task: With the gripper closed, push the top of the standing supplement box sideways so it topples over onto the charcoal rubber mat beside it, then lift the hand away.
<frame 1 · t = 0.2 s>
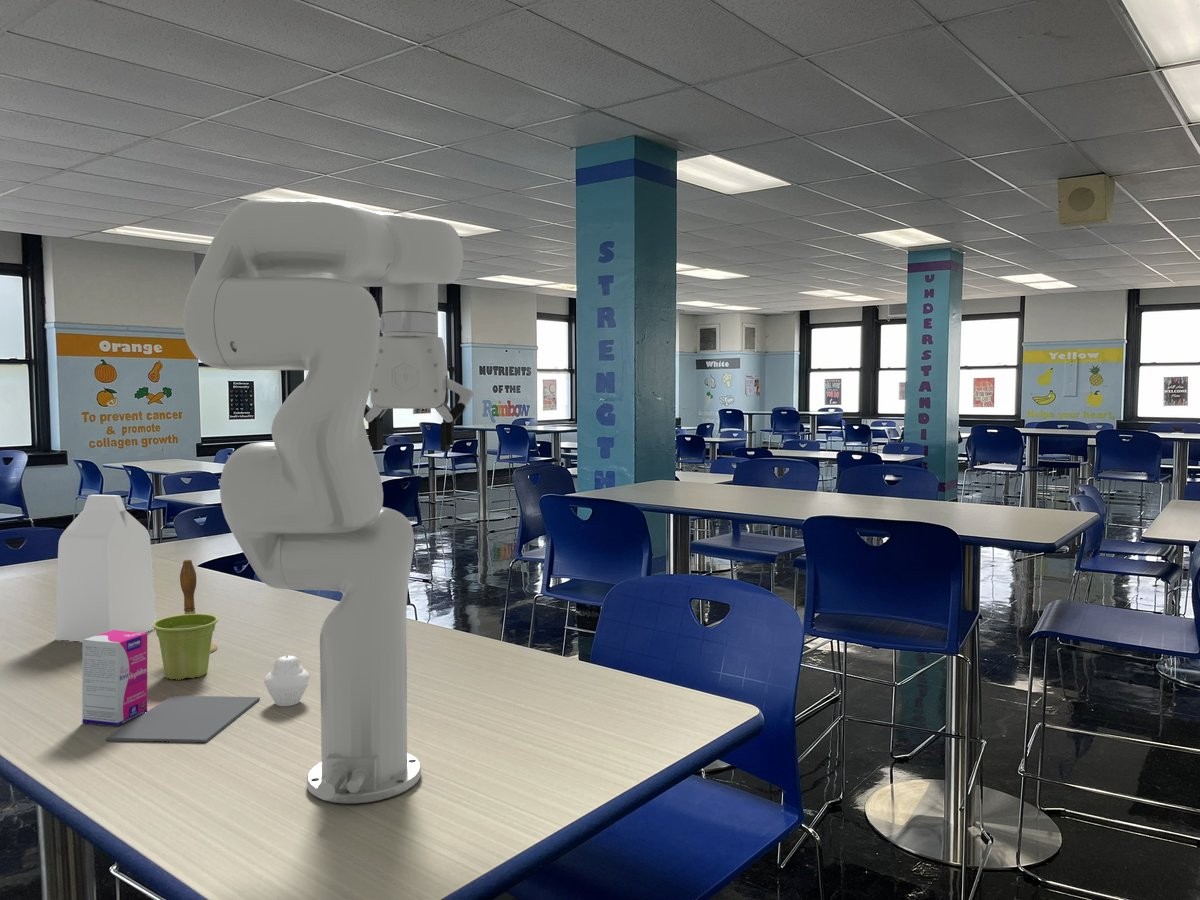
hand: (411, 450, 121), 37 cm above the table, tool pointing down, fingers open, 9 cm apart
milk: (107, 635, 162), on the table
supplement box: (116, 719, 119), on the table
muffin: (287, 704, 125), on the table
mat: (187, 718, 118), on the table
plant pot: (187, 675, 138), on the table
hand bell: (191, 652, 151), on the table
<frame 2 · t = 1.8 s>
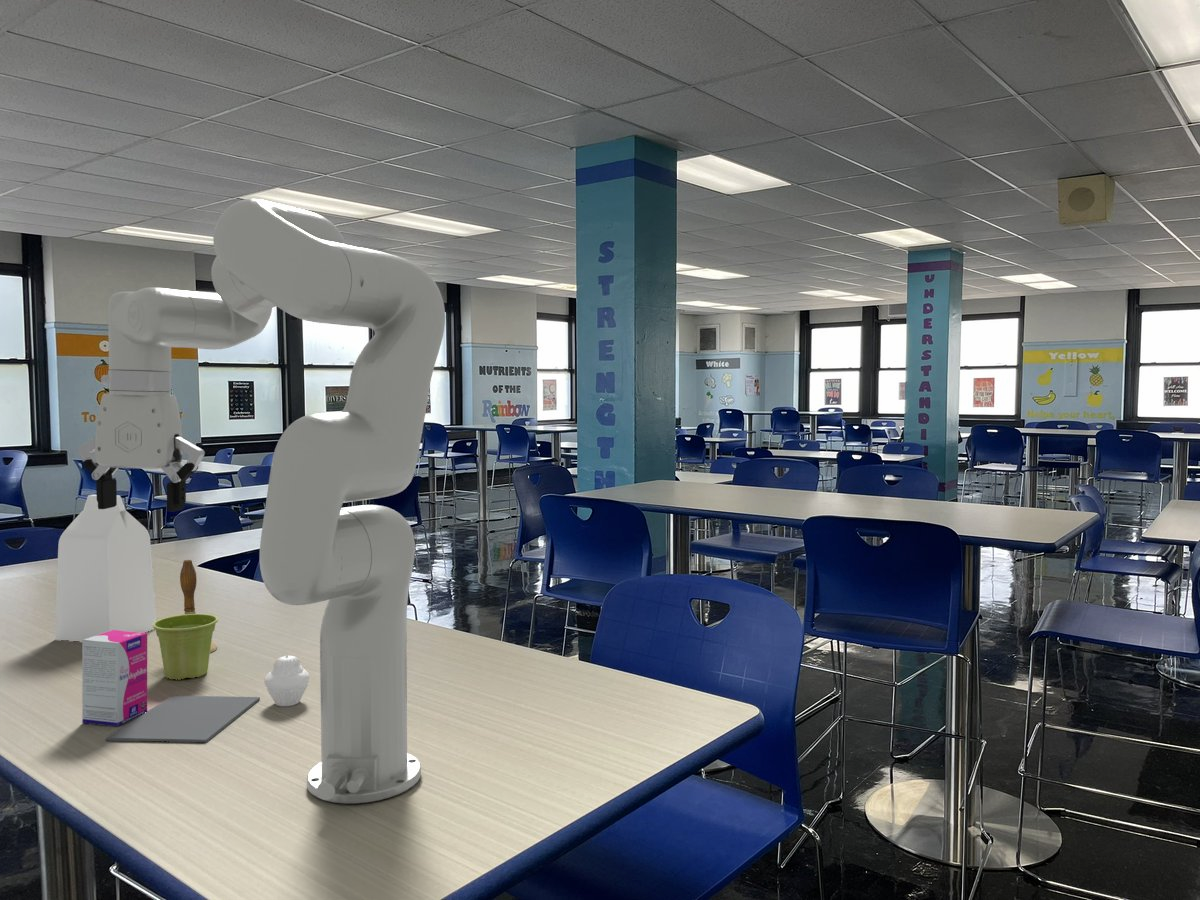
hand: (141, 509, 119), 29 cm above the table, tool pointing down, fingers open, 9 cm apart
nothing on the table moved.
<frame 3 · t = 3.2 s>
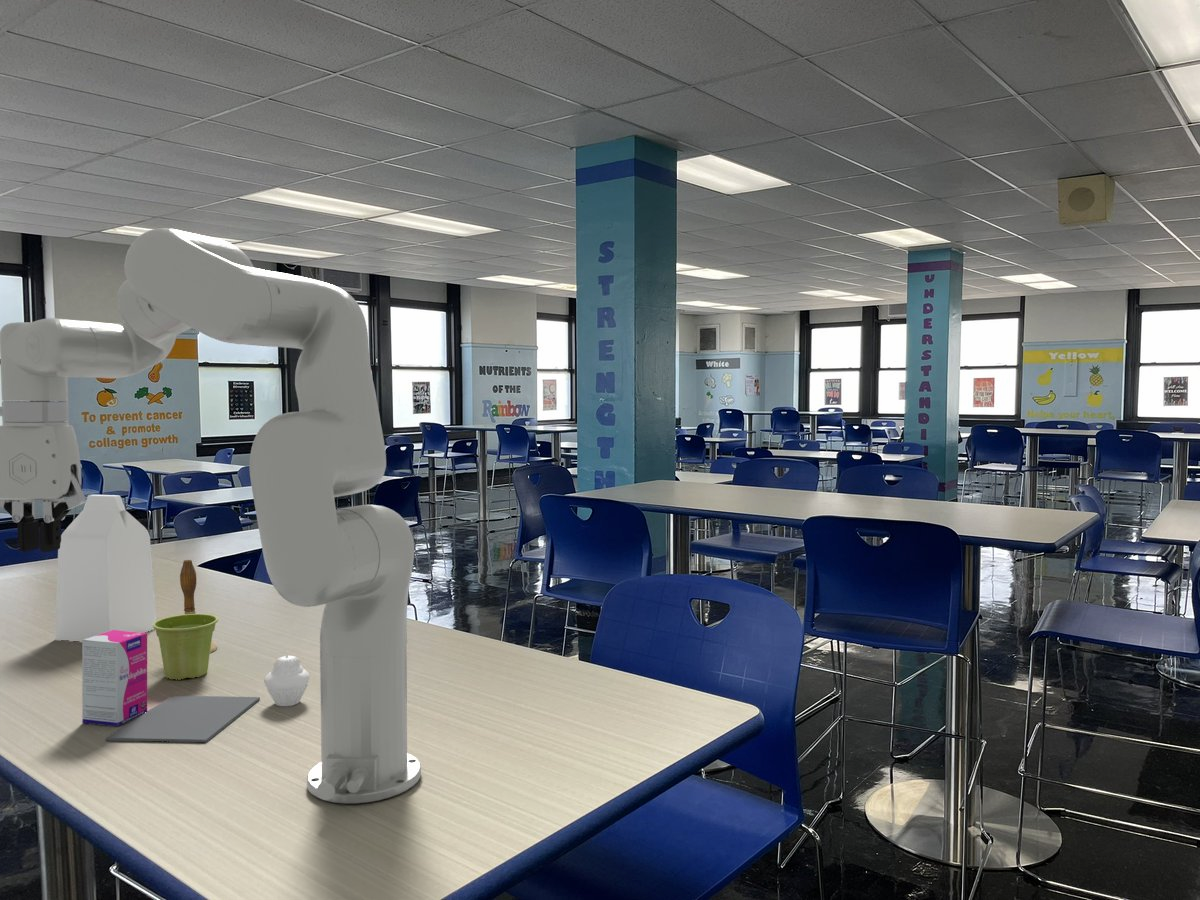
hand: (39, 549, 118), 23 cm above the table, tool pointing down, fingers closed
nothing on the table moved.
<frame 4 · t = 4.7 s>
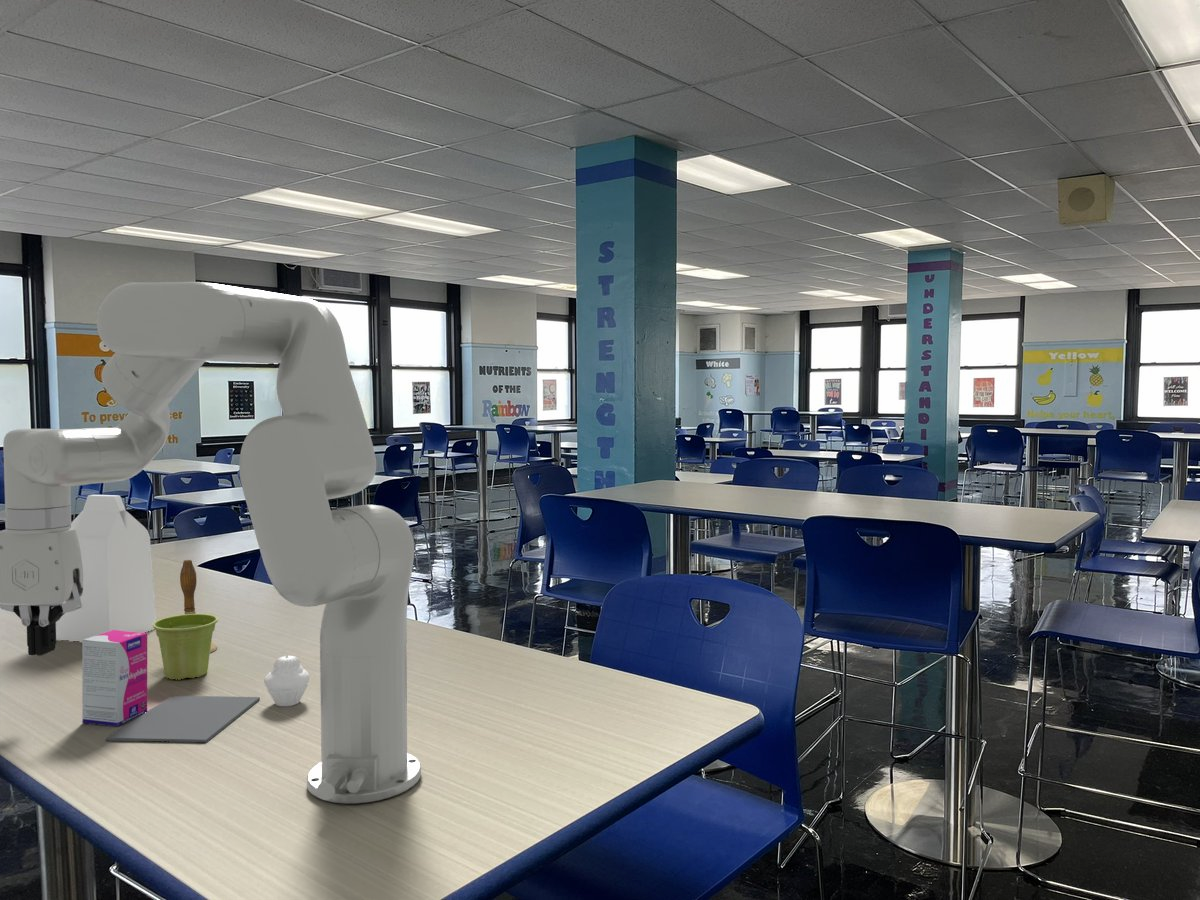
hand: (42, 652, 119), 9 cm above the table, tool pointing down, fingers closed
nothing on the table moved.
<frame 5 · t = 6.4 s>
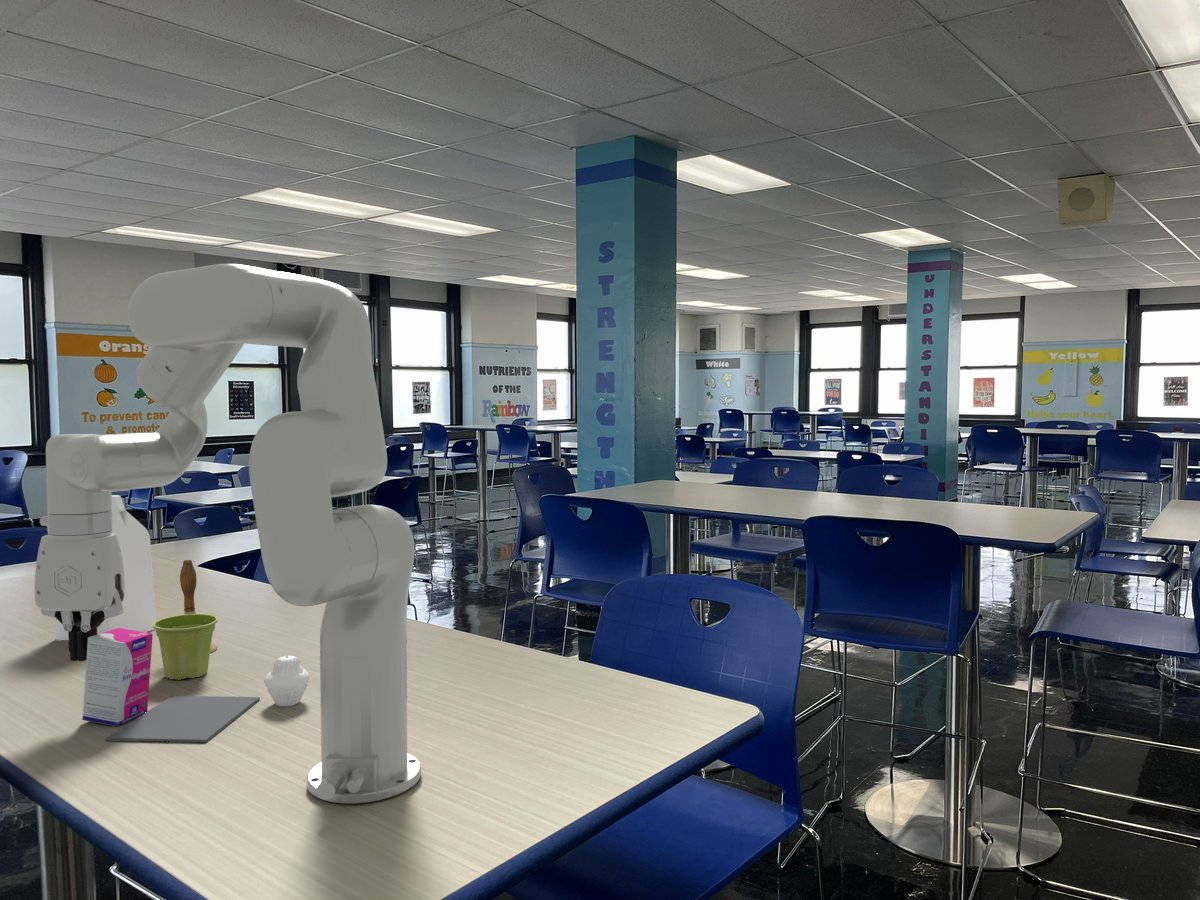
hand: (83, 657, 118), 8 cm above the table, tool pointing down, fingers closed
nothing on the table moved.
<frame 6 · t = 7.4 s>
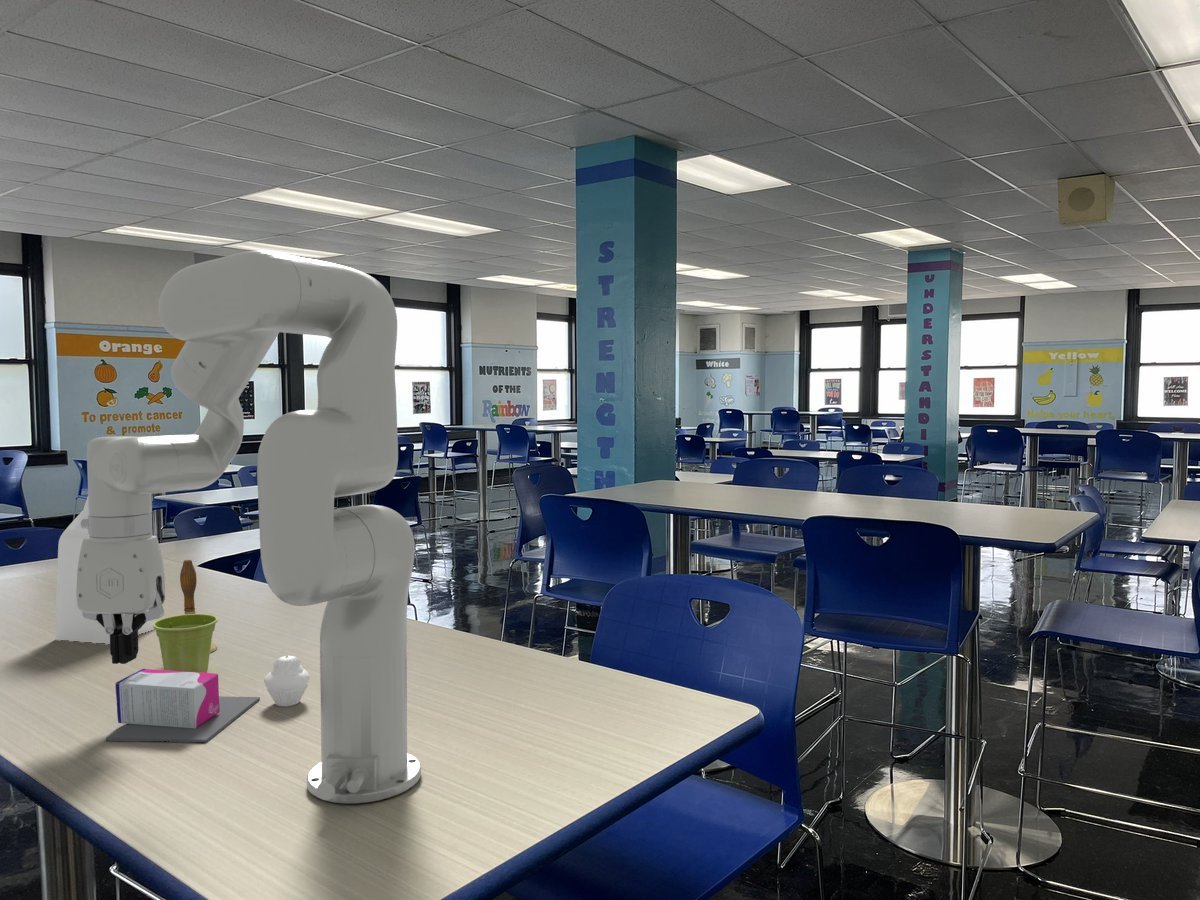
hand: (124, 660, 118), 8 cm above the table, tool pointing down, fingers closed
supplement box: (129, 695, 118), point 3 cm above the table, touching mat
everything else where it was.
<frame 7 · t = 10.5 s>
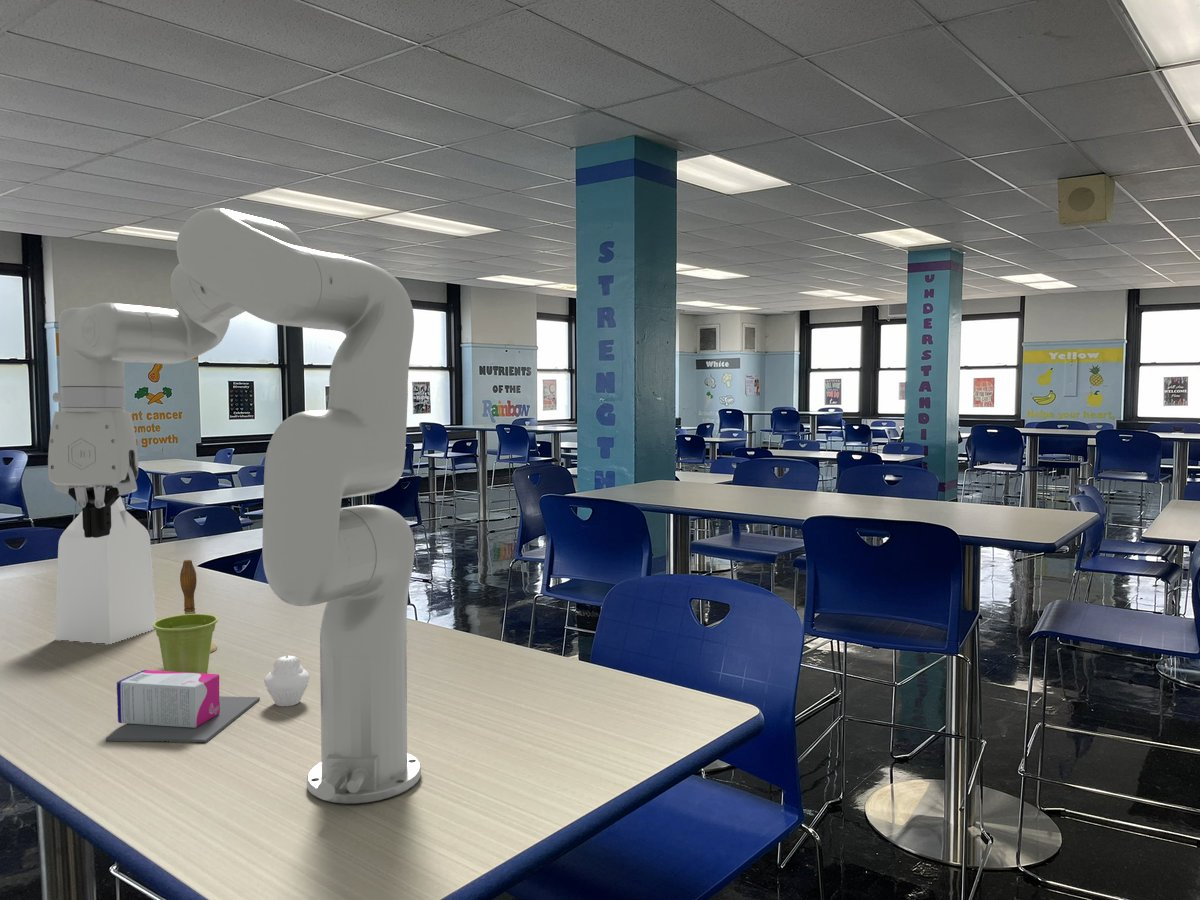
hand: (97, 535, 118), 25 cm above the table, tool pointing down, fingers closed
nothing on the table moved.
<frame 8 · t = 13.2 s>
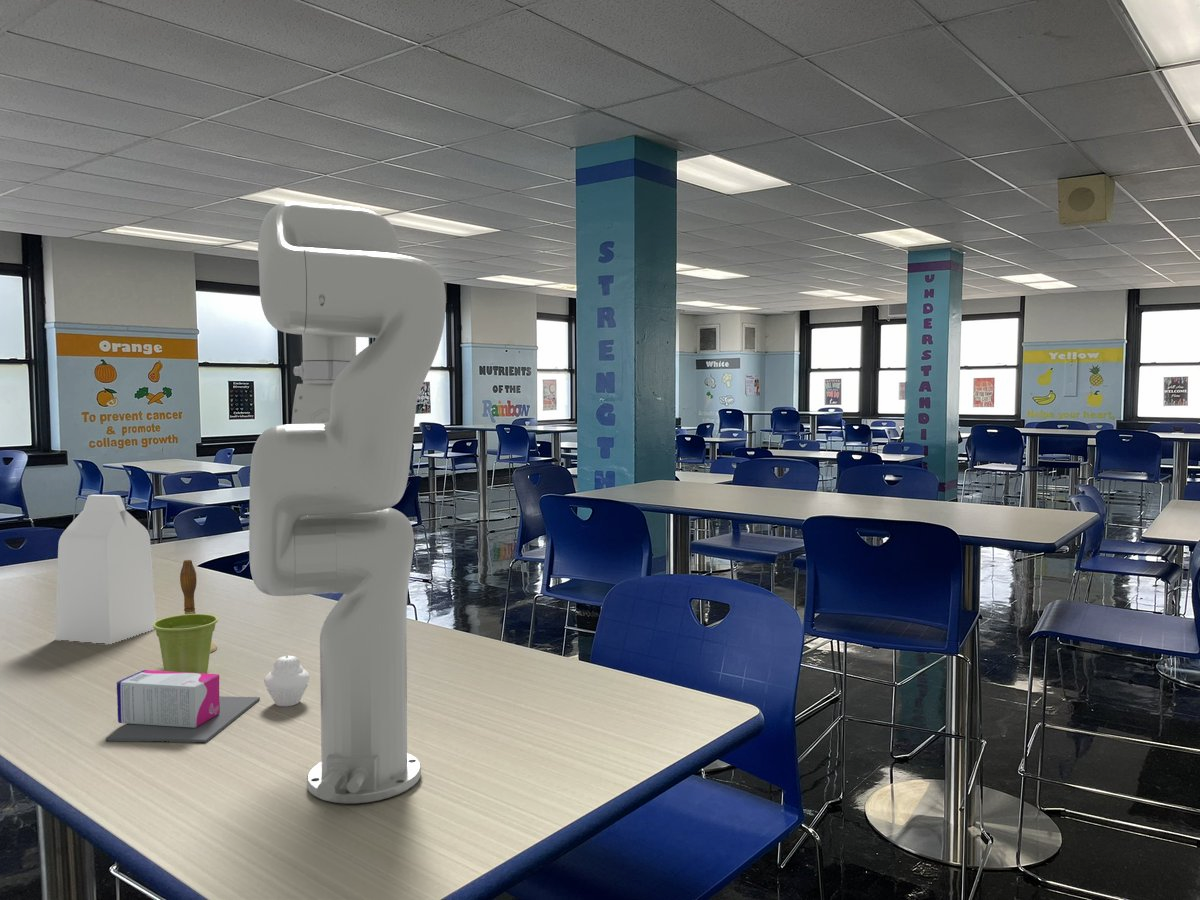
hand: (331, 498, 128), 29 cm above the table, tool pointing down, fingers closed
nothing on the table moved.
at the end: supplement box tilted 89°; supplement box inside the target area (4.8 cm from its centre), point 3.2 cm above the table; the gripper is holding nothing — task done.
